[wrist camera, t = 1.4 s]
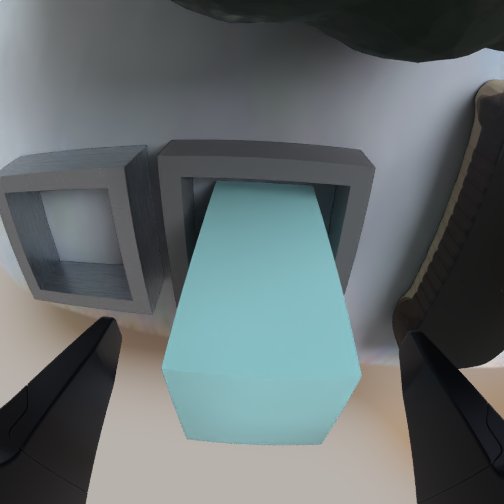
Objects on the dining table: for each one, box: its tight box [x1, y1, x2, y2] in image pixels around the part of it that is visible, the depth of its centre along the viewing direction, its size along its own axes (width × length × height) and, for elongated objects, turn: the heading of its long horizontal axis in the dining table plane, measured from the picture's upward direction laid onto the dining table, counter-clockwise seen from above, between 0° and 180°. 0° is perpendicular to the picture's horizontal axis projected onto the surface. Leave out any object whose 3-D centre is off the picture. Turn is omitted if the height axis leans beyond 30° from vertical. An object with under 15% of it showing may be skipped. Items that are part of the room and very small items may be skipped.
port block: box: [0, 145, 164, 314], centre depth 13 cm, size 7×7×2 cm
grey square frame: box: [157, 140, 375, 308], centre depth 14 cm, size 8×8×2 cm
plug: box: [161, 181, 362, 445], centre depth 11 cm, size 4×4×9 cm
